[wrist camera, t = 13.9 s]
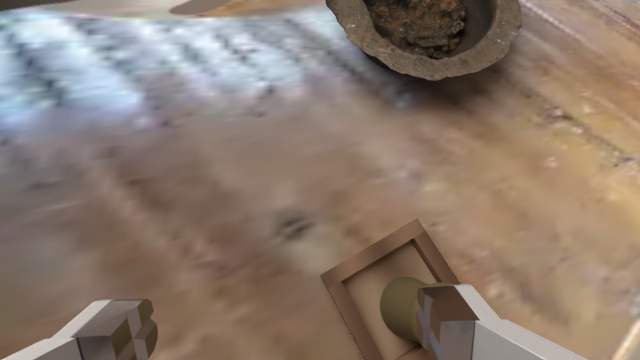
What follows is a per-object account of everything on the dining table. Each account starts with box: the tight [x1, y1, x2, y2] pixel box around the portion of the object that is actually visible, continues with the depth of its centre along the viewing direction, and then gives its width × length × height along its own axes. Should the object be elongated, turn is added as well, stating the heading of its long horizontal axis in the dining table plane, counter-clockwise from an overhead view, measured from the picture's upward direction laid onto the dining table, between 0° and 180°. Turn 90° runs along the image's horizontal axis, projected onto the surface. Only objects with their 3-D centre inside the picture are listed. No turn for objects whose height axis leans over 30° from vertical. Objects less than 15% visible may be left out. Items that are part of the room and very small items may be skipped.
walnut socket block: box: [320, 219, 461, 360], centre depth 31 cm, size 12×12×2 cm
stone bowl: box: [325, 0, 522, 81], centre depth 40 cm, size 25×25×9 cm
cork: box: [380, 277, 453, 345], centre depth 26 cm, size 6×6×11 cm
